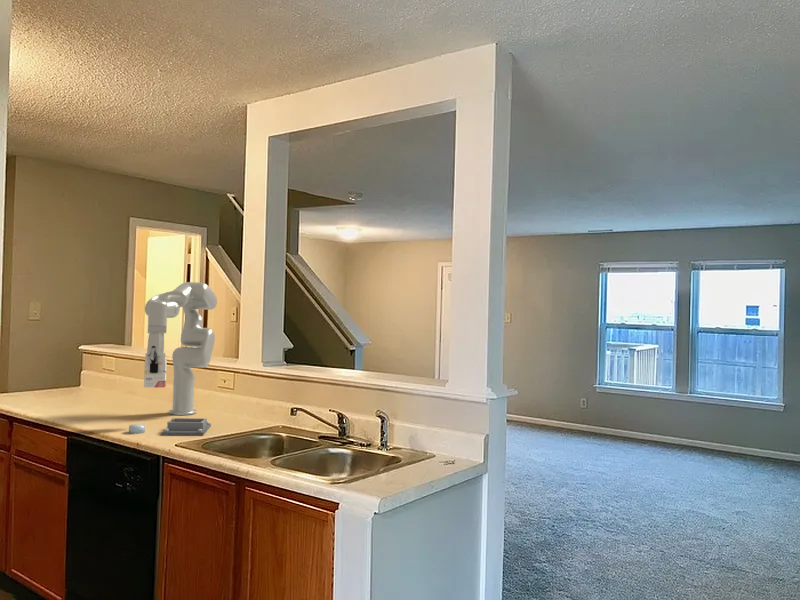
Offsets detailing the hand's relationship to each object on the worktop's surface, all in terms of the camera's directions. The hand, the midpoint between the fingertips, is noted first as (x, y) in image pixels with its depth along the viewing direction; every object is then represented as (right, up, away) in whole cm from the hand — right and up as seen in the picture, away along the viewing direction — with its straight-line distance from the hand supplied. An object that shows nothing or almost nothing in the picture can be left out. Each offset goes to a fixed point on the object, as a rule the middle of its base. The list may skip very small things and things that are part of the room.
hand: (155, 371), depth 270 cm
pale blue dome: (-2, -23, -15) cm, 27 cm away
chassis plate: (+16, -24, -8) cm, 30 cm away
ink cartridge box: (0, -7, 0) cm, 7 cm away
